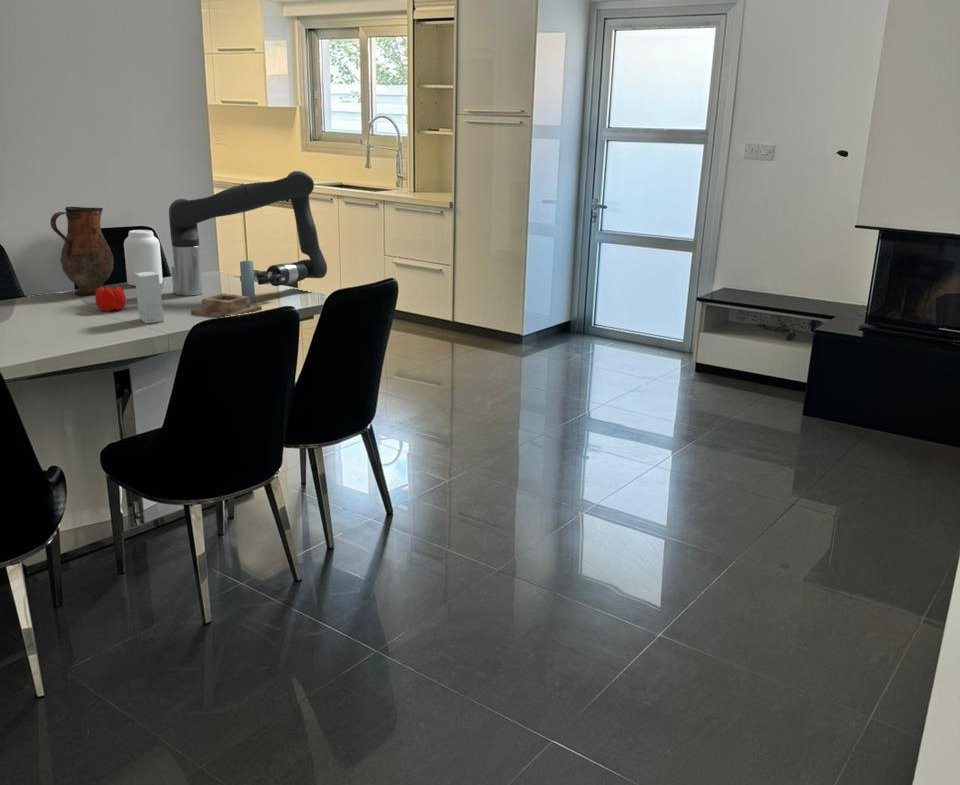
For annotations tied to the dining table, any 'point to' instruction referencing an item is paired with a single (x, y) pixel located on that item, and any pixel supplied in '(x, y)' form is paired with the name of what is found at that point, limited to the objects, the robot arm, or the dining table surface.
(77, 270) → the pitcher
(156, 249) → the white supplement bottle
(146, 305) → the skincare box
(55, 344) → the dining table surface
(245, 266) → the peg
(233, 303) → the socket
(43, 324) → the dining table surface
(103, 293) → the red bell pepper
